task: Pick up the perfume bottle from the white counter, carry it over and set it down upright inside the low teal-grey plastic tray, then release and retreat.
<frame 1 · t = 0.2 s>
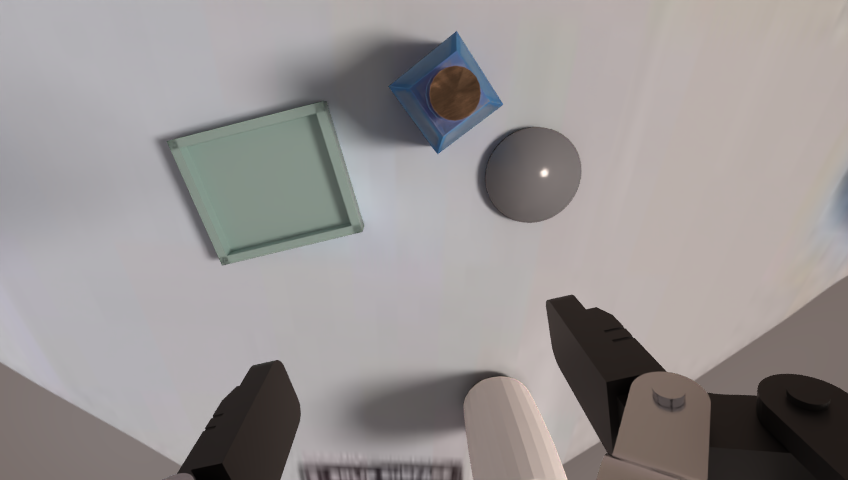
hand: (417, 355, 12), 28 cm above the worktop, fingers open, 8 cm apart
cup: (494, 395, 47), on the worktop
grey domed puck: (531, 175, 38), on the worktop
perfume bottle: (440, 96, 36), on the worktop
tray: (275, 184, 38), on the worktop
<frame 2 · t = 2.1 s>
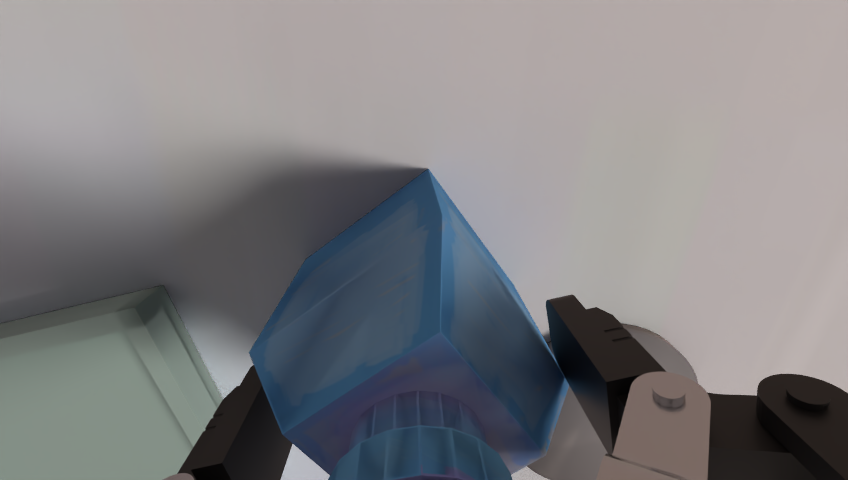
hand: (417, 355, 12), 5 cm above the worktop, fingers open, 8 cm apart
grey domed puck: (595, 403, 19), on the worktop
perfume bottle: (411, 270, 17), on the worktop
tray: (80, 430, 19), on the worktop
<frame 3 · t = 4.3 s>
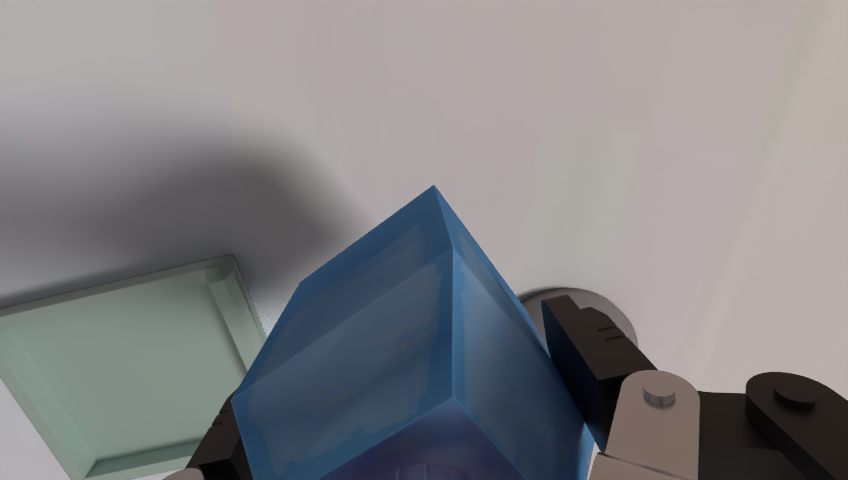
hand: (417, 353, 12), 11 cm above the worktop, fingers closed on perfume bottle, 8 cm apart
grey domed puck: (559, 353, 25), on the worktop
perfume bottle: (415, 293, 15), point 7 cm above the worktop, touching gripper
tray: (160, 369, 24), on the worktop
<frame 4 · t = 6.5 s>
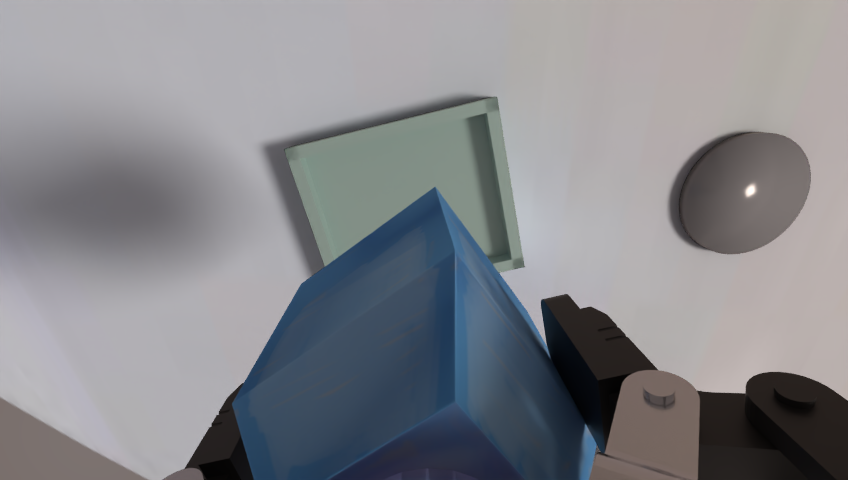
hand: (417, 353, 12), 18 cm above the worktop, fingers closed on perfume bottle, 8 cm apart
grey domed puck: (739, 194, 30), on the worktop
perfume bottle: (416, 295, 15), point 14 cm above the worktop, touching gripper
tray: (411, 205, 29), on the worktop
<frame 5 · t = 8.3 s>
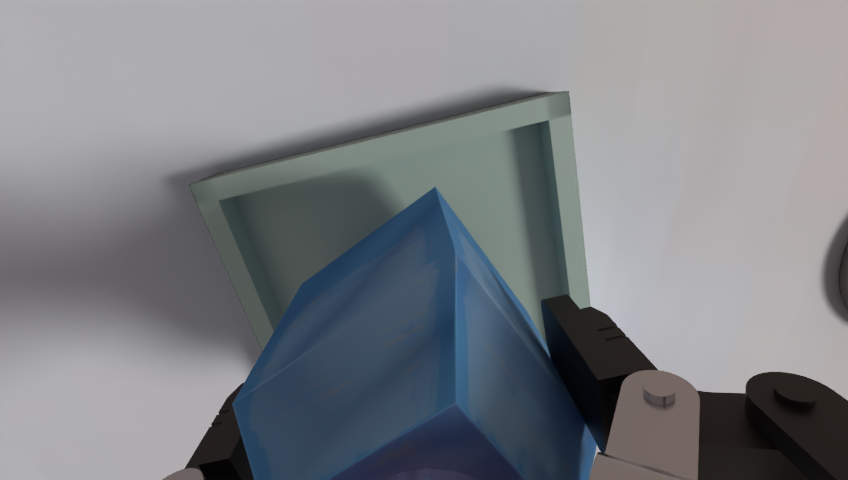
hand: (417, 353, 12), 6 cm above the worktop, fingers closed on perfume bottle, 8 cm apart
perfume bottle: (416, 295, 15), point 3 cm above the worktop, touching gripper
tray: (413, 268, 18), on the worktop
when the fingers open (5 cm above the worktop, at t = 9.8 s): perfume bottle stays where it is, resting on tray.
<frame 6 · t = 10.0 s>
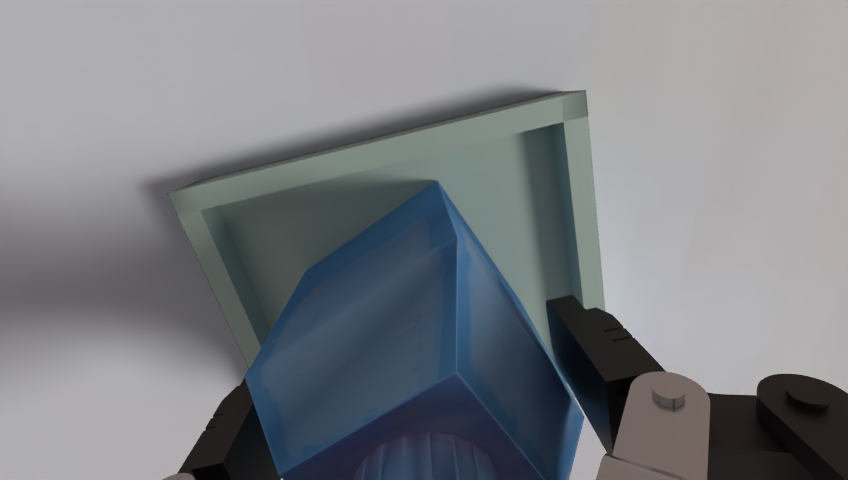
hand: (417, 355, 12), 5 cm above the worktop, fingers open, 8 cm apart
perfume bottle: (416, 284, 16), resting on tray
tray: (414, 281, 16), on the worktop
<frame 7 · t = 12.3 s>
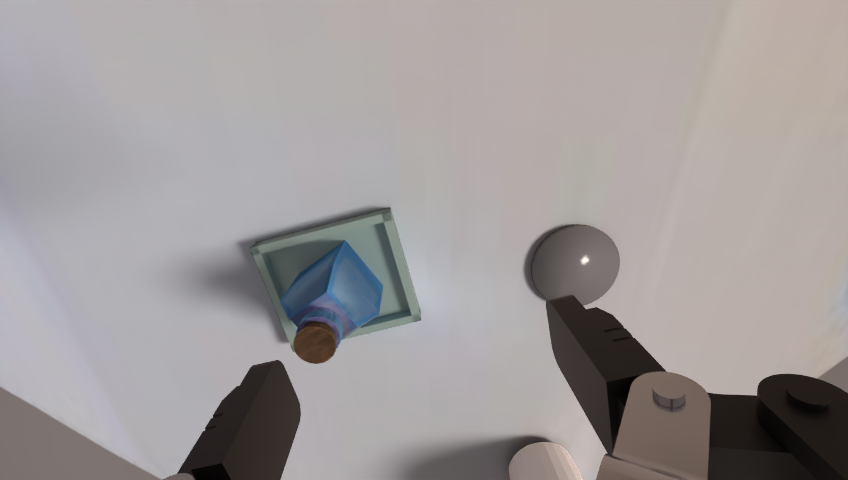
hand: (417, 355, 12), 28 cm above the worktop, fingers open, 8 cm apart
cup: (536, 457, 50), on the worktop
grey domed puck: (573, 265, 42), on the worktop
perfume bottle: (341, 279, 41), resting on tray
tray: (341, 278, 41), on the worktop
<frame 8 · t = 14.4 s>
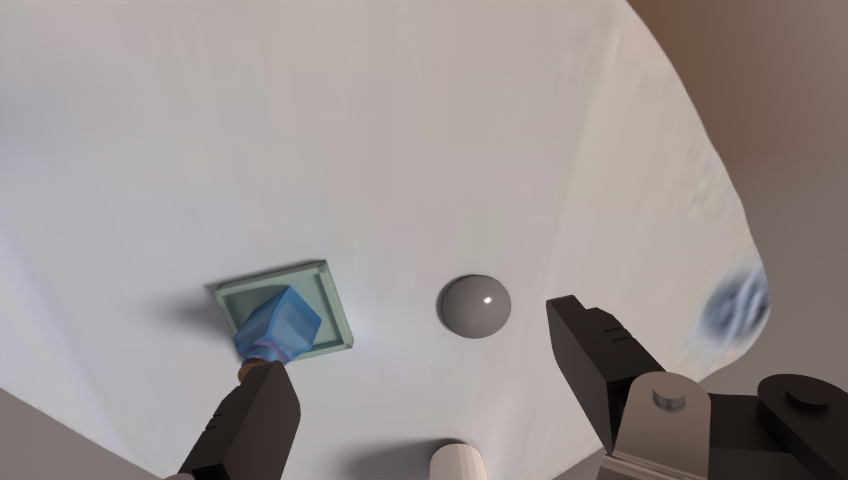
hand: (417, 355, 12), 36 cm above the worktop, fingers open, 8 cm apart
cup: (454, 455, 61), on the worktop
grey domed puck: (475, 305, 52), on the worktop
perfume bottle: (288, 314, 51), resting on tray
tray: (288, 313, 52), on the worktop
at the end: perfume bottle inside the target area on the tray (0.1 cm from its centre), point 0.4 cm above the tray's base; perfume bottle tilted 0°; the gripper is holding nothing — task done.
